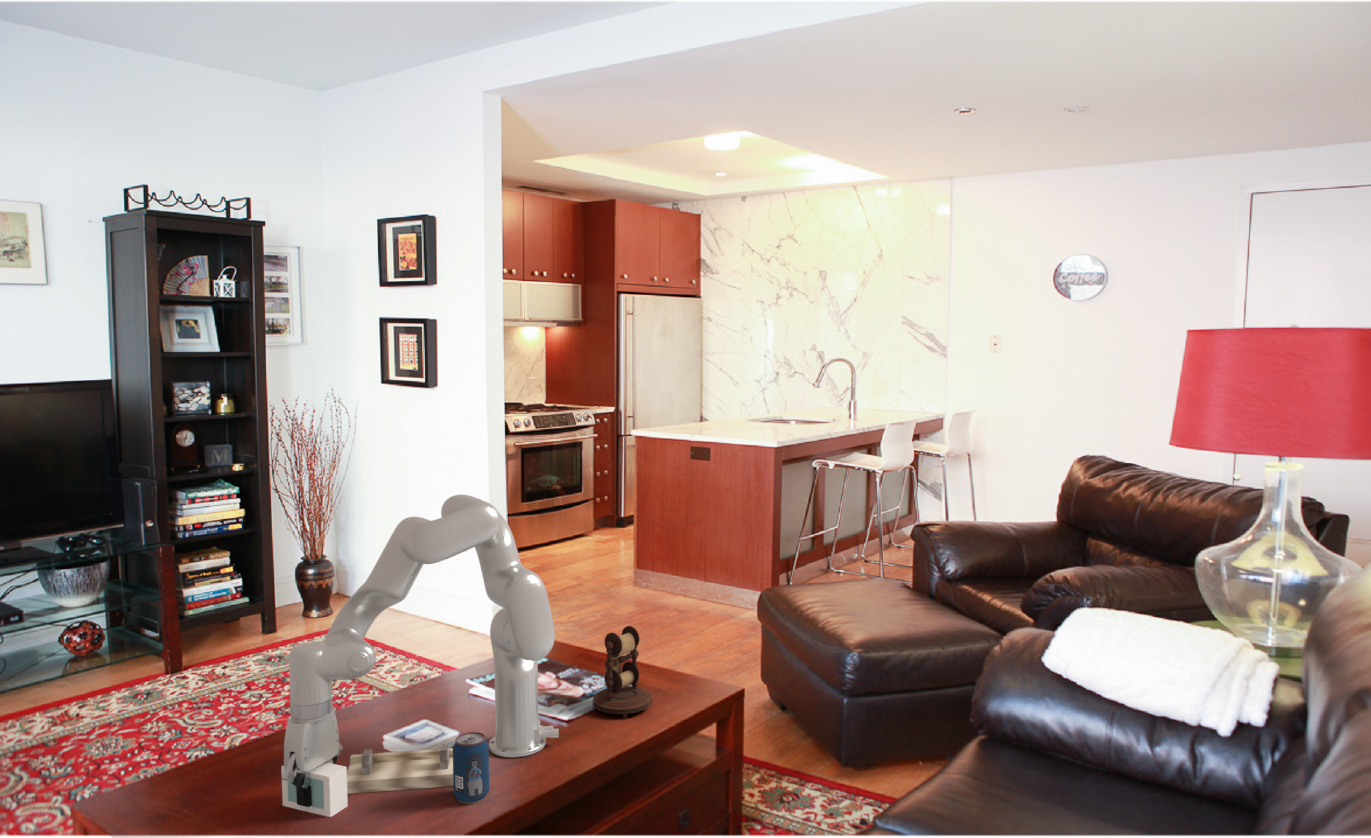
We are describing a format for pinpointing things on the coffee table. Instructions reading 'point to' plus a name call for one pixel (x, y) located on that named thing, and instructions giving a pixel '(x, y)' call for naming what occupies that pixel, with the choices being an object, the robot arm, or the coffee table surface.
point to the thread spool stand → (622, 676)
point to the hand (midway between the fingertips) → (314, 797)
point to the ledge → (400, 770)
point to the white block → (320, 790)
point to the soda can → (470, 767)
